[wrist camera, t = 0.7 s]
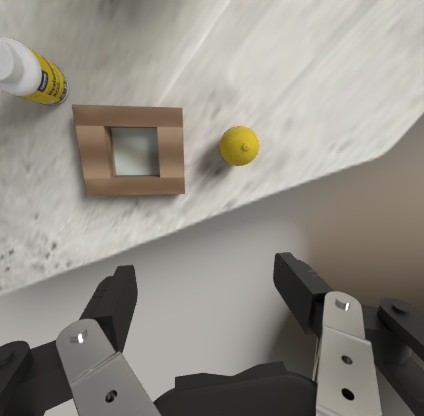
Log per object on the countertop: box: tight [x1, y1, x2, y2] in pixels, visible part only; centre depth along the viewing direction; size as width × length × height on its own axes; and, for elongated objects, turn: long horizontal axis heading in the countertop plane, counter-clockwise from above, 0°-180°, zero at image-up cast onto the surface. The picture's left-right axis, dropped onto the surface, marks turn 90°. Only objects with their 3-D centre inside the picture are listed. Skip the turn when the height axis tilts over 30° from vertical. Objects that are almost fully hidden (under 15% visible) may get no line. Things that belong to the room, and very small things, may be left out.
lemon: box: [219, 126, 259, 166], centre depth 31 cm, size 6×6×8 cm
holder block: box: [72, 105, 185, 196], centre depth 32 cm, size 12×14×4 cm
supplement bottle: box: [0, 37, 69, 105], centre depth 25 cm, size 5×5×10 cm
